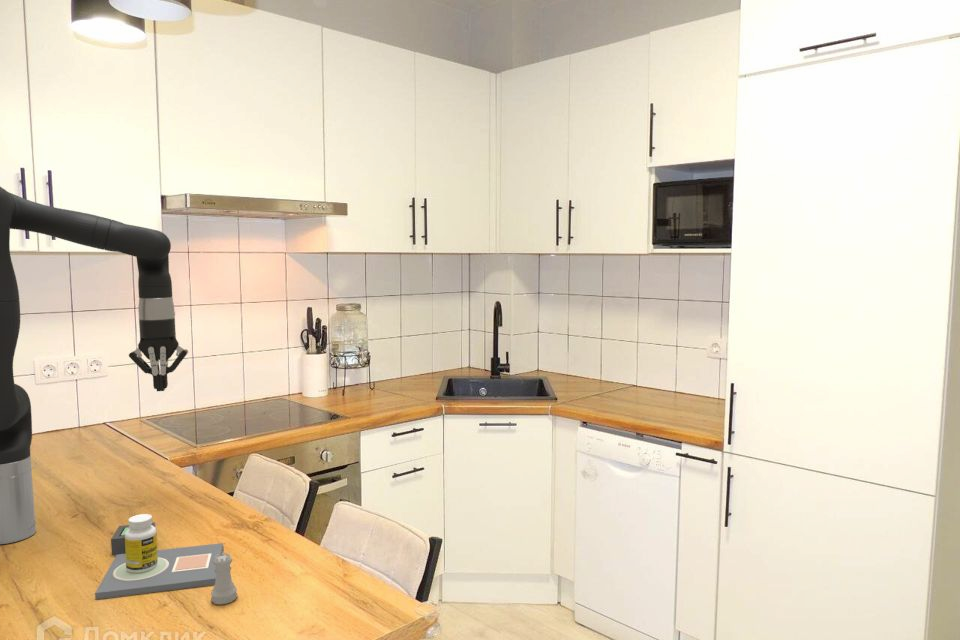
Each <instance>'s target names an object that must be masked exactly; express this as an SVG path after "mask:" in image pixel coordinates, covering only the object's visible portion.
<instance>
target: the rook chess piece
mask: <svg viewBox="0 0 960 640" xmlns="http://www.w3.org/2000/svg"><path fill="white" fill-rule="evenodd" d="M232 562H233V558H232V557H231V554H230V553H229V552H226V553H225V552H223V553H222V556H220V554H218V555H216V556H215V560H214V561H213V564H214V565H215V566H216V569H215V572H216V581H215V585H213V587H212V590H211V593H210V596H211V598H210V601H211V602H212V603H213V604H214V605H218V606H223V605H227V604H231V603H233V602H234V601H235V600H236V598H237V597H238V592H237V590H238V589H237V587H236V585H235V584H234V582H233V579H232V576H231V575H232V573H231V570H232V567H231V564H232Z"/></svg>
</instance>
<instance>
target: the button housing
mask: <svg viewBox="0 0 960 640" xmlns="http://www.w3.org/2000/svg"><path fill="white" fill-rule="evenodd" d="M151 525H152V526H154V527H155V528H156V522H154V521H152V524H151ZM127 527H129V524H125V525H119V526H118V527H117V528H116V530H115V532H114V533H113V535H112V537H111V538H110V548H111V556H112V557H113V556H115V557H116V555H118V554H126V552H125V536H121V534H122V532H123V531H124V529H125V528H127Z"/></svg>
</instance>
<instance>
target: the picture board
mask: <svg viewBox="0 0 960 640" xmlns="http://www.w3.org/2000/svg"><path fill="white" fill-rule="evenodd" d="M224 548H225V547H224V543H223V542H219V543H212V544H209V543H208V544H202V545H201V544H200V545H191V546H184V547H182V546H181V547H174V548H165V549H157V560H158V561H157V565H156V567H154V568H153V569H151V570H149V571H146V572H142V573H131V572H129V571H127V569H126V554H118V555H115V557H114V558H113V560H112V562H111V564H110V566H109V567H108V569H107V571H106V572H105V573H106V574H104V577H103V578H102V580H101V582H100V583H99V585H98V587H97V589H96V590H95V593H94V598H95V600H96V601H97V600H102V599H112V598H119V597H128V596H134V595H143V594H144V593H145V594H152V593H159V592H161V593H162V592H168V591H169V592H170V591H176V590H184V589H192V588H201V587H208V586H215V581H216V572H215V569H216V566H215V565H214V564H213V561H214V560H215V556H216V555H218V554H220V556H222V553H224Z"/></svg>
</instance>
